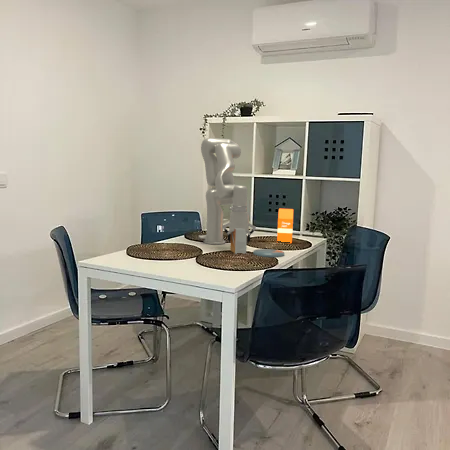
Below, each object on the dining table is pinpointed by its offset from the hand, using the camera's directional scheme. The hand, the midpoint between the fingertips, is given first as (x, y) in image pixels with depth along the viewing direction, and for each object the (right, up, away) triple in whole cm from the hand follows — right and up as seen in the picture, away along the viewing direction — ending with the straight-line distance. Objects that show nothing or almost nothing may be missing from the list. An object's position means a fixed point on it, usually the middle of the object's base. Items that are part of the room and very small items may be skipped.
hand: (238, 242), depth 247 cm
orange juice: (+29, -1, +38) cm, 47 cm away
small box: (0, -6, +1) cm, 6 cm away
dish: (+15, -6, -2) cm, 17 cm away
